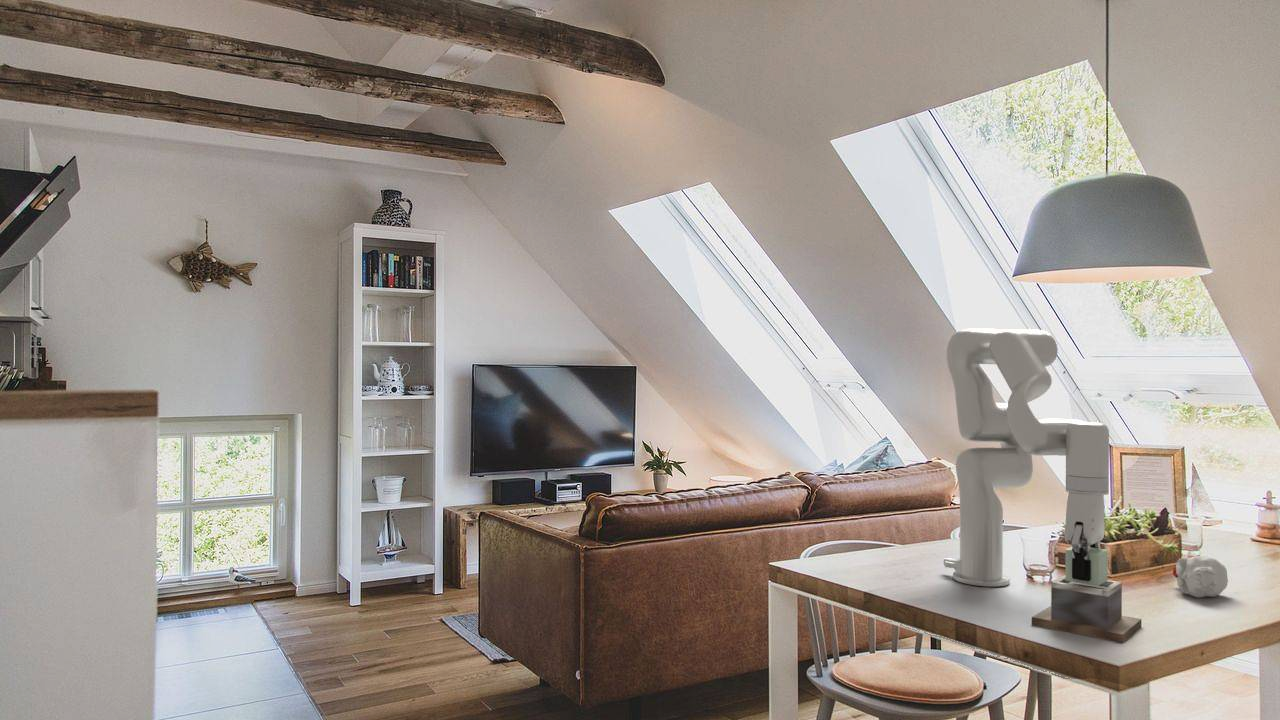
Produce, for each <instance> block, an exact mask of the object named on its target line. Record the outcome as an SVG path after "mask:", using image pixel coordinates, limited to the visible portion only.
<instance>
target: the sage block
mask: <svg viewBox="0 0 1280 720" xmlns="http://www.w3.org/2000/svg"><path fill="white" fill-rule="evenodd" d="M1083 548H1084V551H1085V547H1083ZM1072 549H1073V547H1072V546H1070V547H1067V548H1066V549H1065V550H1064V551H1065V553H1064V556H1065V557H1064V558H1065V559H1064V560H1065V561H1064V562H1065V573H1064V575H1065V580H1066V581H1072V582H1078V583H1085V584H1091V585H1097V586H1099V585H1101V584H1103V583H1104V582H1106V581H1107V580H1108V573H1109V572H1108V567H1109V566H1108V562H1109V561H1108V560H1109V559H1108V558H1109V557H1108V553H1109V552H1108V549H1104V548H1101V549H1097V548H1090V553H1089V560H1091V580H1090V581H1083V580H1077V579H1073V578H1072Z"/></svg>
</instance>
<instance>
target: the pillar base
mask: <svg viewBox="0 0 1280 720" xmlns="http://www.w3.org/2000/svg"><path fill="white" fill-rule="evenodd" d="M1050 589H1051V591H1050V592H1051V594H1050V596H1051V597H1050V599H1051V601H1050V602H1051V603H1050V605H1049V606H1048V607H1046V608H1045V609H1043V610H1041V611H1039V612H1037V613H1036V614H1034V615H1033V616H1031V625H1033V626H1038V627H1041V628H1047V629H1052V630H1057V631H1062V632H1067V633H1073V634H1076V635H1083V636H1088V637H1091V638H1092V637H1093V638H1098V639H1103V640H1107V641H1113V642H1118V643H1121V644H1122V643H1124V642H1125V641H1127V640H1128V639H1129V638H1130V637H1131V636H1132V635H1134V634H1135V633H1136V632H1137V631H1138V630H1139V629H1141V628H1142V618H1138V617H1133V616H1132V617H1130V616H1127V615H1123V614H1122V610H1123V605H1122V603H1123V602H1122V601H1123V600H1122V599H1123V597H1122V596H1123V595H1122V594H1123V592H1122V590H1123V582H1121V581H1115V580H1108V579H1107V581H1106V582H1104V583H1103V584H1101V585H1099V586H1097V585H1091V584H1085V583H1078V582H1072V581H1066V580H1065V574H1064V575H1062V576H1060V577H1058V578H1056V579H1055V580H1053V581H1051V587H1050Z"/></svg>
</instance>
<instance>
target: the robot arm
mask: <svg viewBox="0 0 1280 720" xmlns="http://www.w3.org/2000/svg"><path fill="white" fill-rule="evenodd" d="M1057 357H1058V344H1057V342H1056V340H1055V338H1054V337H1053V335H1051V334H1050V332H1047V331H1046V330H1043V329H1017V328H1016V329H1015V328H1014V329H1004V328H1003V329H1002V328H1001V329H999V328H997V329H996V328H966V329H962V330H959V331H956V332H955V333H953V335H951V337H950V338H949V341H948V343H947V347H946V363H947V366H948V370H949V374H950V376H951V379H952V382H953V387H954V394H955V395H954V397H955V406H956V413H957V415H956V416H957V424H958V429H959V433H960V436H961V438H962V439H964V440H965V441H968V442H973V443H1000V446H1001V447H972V448H967V449H965V450H963V451H962V452H960V453H959V454H958V456H957V458H956V461H955V471H956V472H955V473H956V478H957V483H958V489H959V490H958V491H959V558H957V559H953V558H949V557H945V558H944V559H943V565H944V568H951V569H954V570H955V571H954V572H953V573H952V579H953V580H955V581H956V582H958V583H962V584H966V585H970V586H978V587H988V588H989V587H992V588H994V587H1005V586H1008V585H1009V584H1010V580H1011V578H1010V577H1008V576H1007V575H1005V574H1003V565H1004V564H1003V558H1004V557H1003V552H1004V551H1003V549H1004V547H1003V546H1004V545H1003V541H1004V538H1003V536H1004V535H1003V534H1004V532H1003V531H1004V529H1003V528H1004V521H1003V520H1004V517H1003V515H1004V511H1003V510H1004V509H1003V505H1002V504H1003V503H1002V502H1001V500H1000V498H999V496H998V495H997V493H996V492H995V490H994V489H998V488H999V489H1002V488H1005V489H1007V488H1022V487H1025V486H1026V485H1028V484H1029V482H1030V481H1031V480H1032V476H1033V471H1034V469H1033V467H1034V466H1033V457H1032V456H1042V457H1043V456H1062V457H1064V456H1065V492H1067V493H1068V495H1067V501H1066V508H1065V509H1066V511H1065V526H1064V527H1065V528H1064V540H1065V542H1066V543H1069V544H1070V543H1071V547H1073V549H1072V578H1073V579H1077V580H1083V581H1090V580H1091V560H1089V553H1090V548H1097V549H1102V548H1101V541H1103V539H1104V538H1105V531H1106V528H1105V525H1106V522H1105V521H1106V518H1105V517H1106V516H1105V511H1106V510H1105V496H1106V495H1109V491H1110V489H1109V487H1110V486H1109V485H1110V484H1109V483H1110V482H1109V481H1110V479H1109V478H1110V477H1109V476H1110V474H1109V473H1110V472H1109V471H1110V431H1109V428H1108V426H1107V425H1106V424H1105V423H1102V422H1097V421H1095V422H1093V421H1085V420H1080V419H1074V418H1036V416H1035V415H1034V413H1033V411H1032V410H1031V408H1030V405H1029V404H1028V403H1030V402H1033V401H1035V400H1036V399H1039V398H1040V397H1041V396H1043V395H1044V394H1046V392H1048V390H1049V389H1050V388H1051V385H1052V383H1053V381H1052V376H1051V374H1050V373H1049V371H1048V370H1047V368H1046V367H1049V366H1050V365H1052V364H1053V363H1054V362H1055V360H1056V359H1057ZM980 365H996V366H997V369H998V370H999V372H1000V373H1001V375H1002V377H1003V379H1004V380H1005V382H1006V384H1007V386H1008V388H1009V390H1010V391H1011V393H1010V396H1009V398H1008V400H1007V402H996V401H995V400H994V395H993V394H994V393H993V385H992V382H991V380H990V379H989V377H988V375H987V374H986V372H985V371H984V370H983V369H982V368H981V367H980ZM1083 547H1085V551H1084V548H1083Z"/></svg>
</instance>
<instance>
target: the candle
mask: <svg viewBox="0 0 1280 720" xmlns="http://www.w3.org/2000/svg"><path fill="white" fill-rule="evenodd" d="M1172 575H1173V576H1174V577H1175V578H1176V581H1177V583H1176V584H1177V586H1178V589H1179V590H1180V592H1181V593H1183V594H1185V595H1189V596H1192V597H1194V598H1197V599H1200V598H1210V597H1211V598H1212V597H1213V598H1214V597H1216V596H1219V595H1220V594H1222V593H1223V592H1224V590H1226V589H1227V587H1228V582H1229V580H1228V578H1229V577H1228V570H1227V568H1226V566H1225V565H1224V564H1223V563H1221V562H1220V561H1219V560H1217V559H1215V558H1213V557H1208V556H1195V555H1193V556H1192V555H1191V556H1188V557H1181V558H1179V559H1178V560H1177V562H1176V565H1175V566H1174V568H1173V571H1172Z"/></svg>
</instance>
